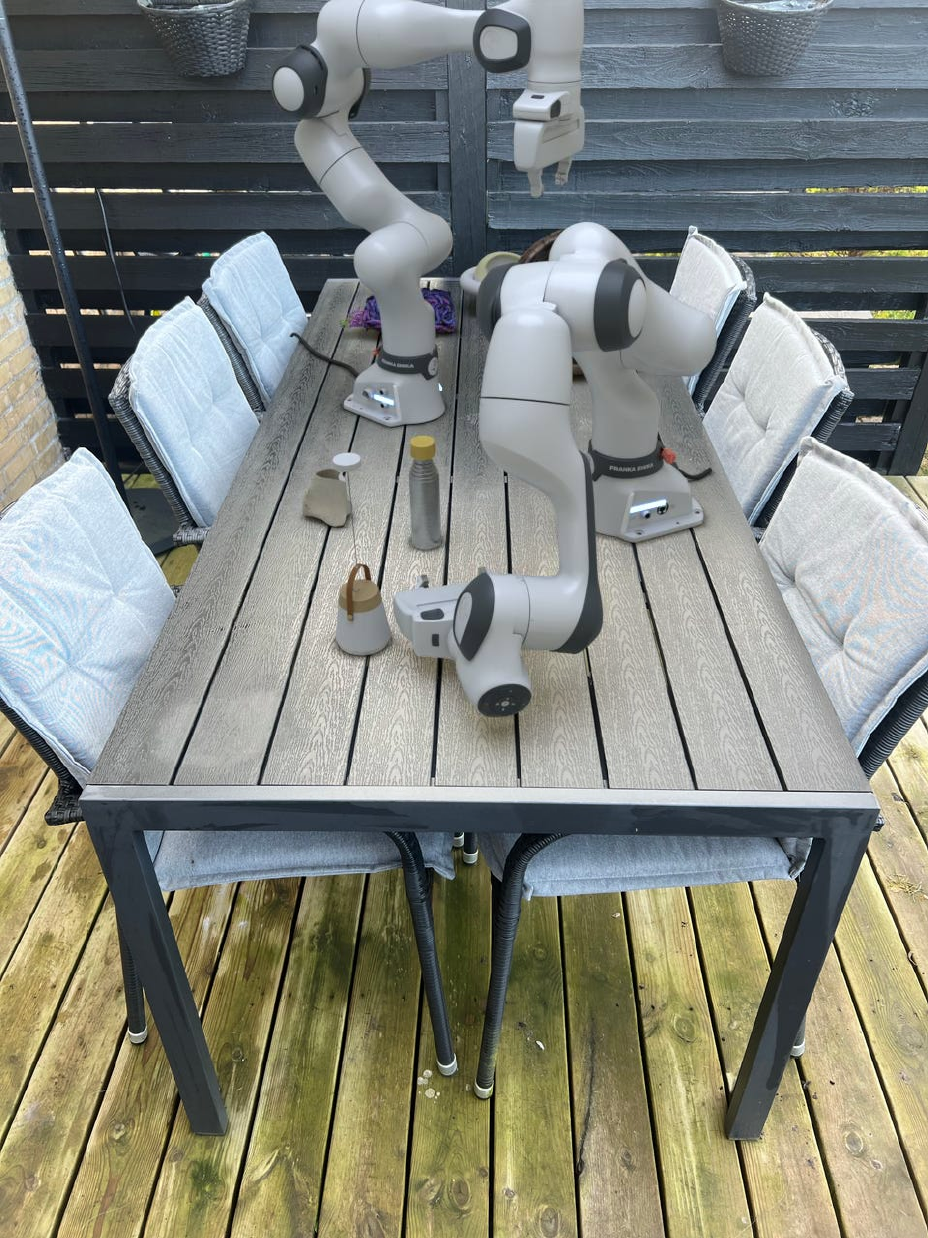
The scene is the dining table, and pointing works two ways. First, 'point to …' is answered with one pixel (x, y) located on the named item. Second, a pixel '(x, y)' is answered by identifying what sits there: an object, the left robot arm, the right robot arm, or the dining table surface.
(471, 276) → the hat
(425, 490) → the bottle
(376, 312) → the decorative ornament
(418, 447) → the cap
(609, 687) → the dining table surface
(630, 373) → the right robot arm
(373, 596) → the pendant light
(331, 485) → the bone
